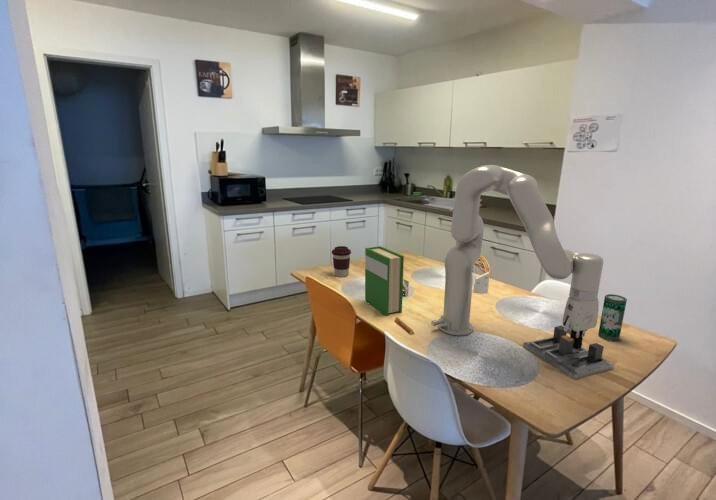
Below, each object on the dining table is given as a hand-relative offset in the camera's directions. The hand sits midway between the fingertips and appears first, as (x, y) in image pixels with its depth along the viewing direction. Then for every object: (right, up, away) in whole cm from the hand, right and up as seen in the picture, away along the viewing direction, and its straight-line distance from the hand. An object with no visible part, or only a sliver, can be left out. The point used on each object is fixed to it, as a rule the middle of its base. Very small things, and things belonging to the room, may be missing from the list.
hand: (574, 346), depth 124 cm
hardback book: (-59, +7, +39) cm, 71 cm away
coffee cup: (-78, +18, +80) cm, 113 cm away
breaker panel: (-3, -3, 0) cm, 5 cm away
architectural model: (-49, +10, +53) cm, 73 cm away
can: (+19, 0, +13) cm, 23 cm away
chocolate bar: (-53, +2, +20) cm, 56 cm away
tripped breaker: (-4, -2, -1) cm, 4 cm away
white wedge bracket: (-12, +11, +56) cm, 59 cm away
